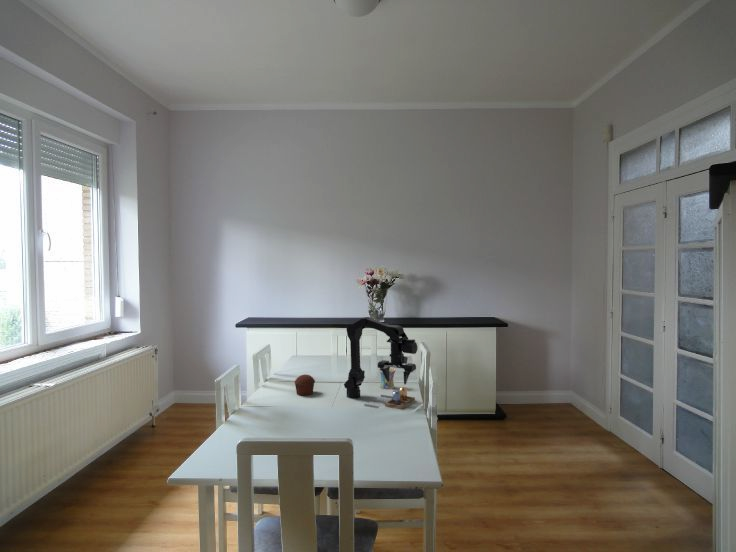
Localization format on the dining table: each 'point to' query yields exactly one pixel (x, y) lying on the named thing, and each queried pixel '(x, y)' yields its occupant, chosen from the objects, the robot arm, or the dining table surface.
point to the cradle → (379, 401)
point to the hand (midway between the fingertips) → (396, 383)
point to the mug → (384, 382)
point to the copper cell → (403, 393)
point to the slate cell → (396, 397)
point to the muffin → (304, 385)
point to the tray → (402, 403)
